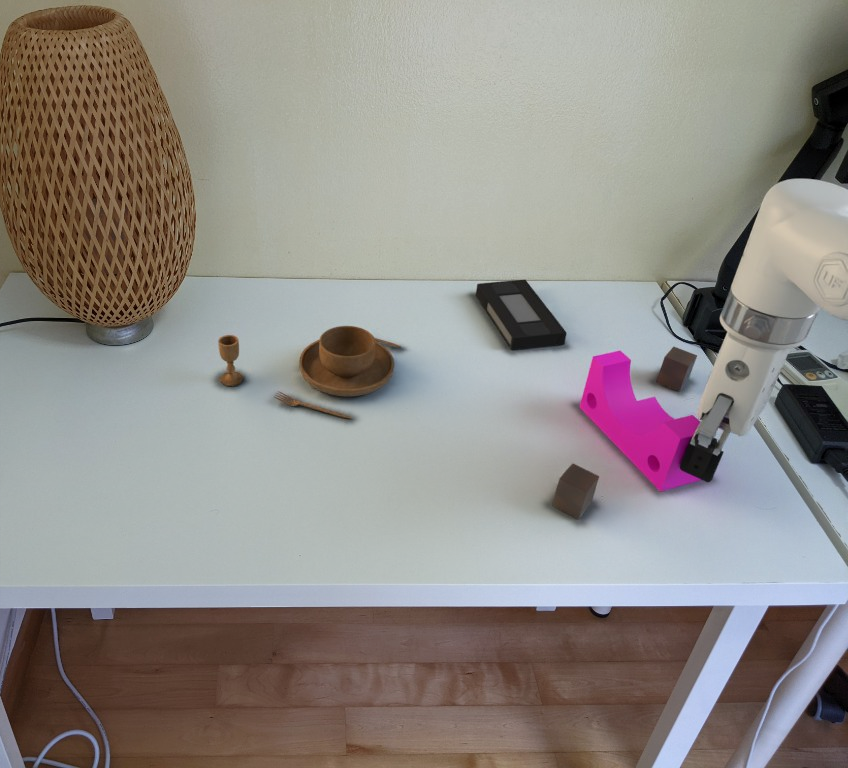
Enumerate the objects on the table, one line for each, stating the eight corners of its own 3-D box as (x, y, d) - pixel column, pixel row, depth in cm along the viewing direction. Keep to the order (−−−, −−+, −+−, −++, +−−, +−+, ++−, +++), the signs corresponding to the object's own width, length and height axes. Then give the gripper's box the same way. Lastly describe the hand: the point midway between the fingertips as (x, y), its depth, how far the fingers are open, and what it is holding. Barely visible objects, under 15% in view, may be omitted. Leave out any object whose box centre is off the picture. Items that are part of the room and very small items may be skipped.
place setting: (366, 427, 90) (368, 386, 86) (213, 385, 95) (209, 346, 92) (411, 347, 103) (415, 309, 99) (275, 315, 108) (273, 278, 105)
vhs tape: (511, 350, 102) (513, 338, 101) (475, 295, 114) (476, 283, 112) (563, 345, 104) (566, 332, 102) (523, 291, 115) (525, 279, 114)
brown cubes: (688, 381, 98) (697, 355, 95) (578, 520, 79) (586, 492, 76) (664, 371, 99) (673, 346, 97) (551, 505, 80) (559, 478, 78)
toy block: (707, 478, 84) (730, 425, 79) (660, 491, 82) (680, 438, 78) (622, 396, 95) (638, 346, 90) (579, 407, 93) (592, 356, 89)
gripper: (783, 371, 65) (719, 512, 75) (833, 292, 76) (771, 426, 86) (694, 338, 69) (645, 477, 79) (754, 268, 80) (703, 398, 90)
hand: (711, 450), depth 83 cm, fingers open, 9 cm apart
